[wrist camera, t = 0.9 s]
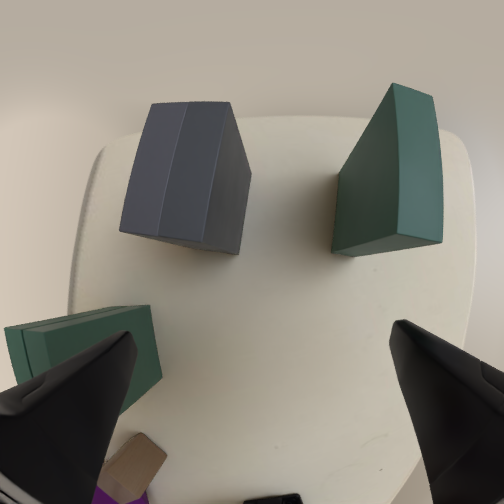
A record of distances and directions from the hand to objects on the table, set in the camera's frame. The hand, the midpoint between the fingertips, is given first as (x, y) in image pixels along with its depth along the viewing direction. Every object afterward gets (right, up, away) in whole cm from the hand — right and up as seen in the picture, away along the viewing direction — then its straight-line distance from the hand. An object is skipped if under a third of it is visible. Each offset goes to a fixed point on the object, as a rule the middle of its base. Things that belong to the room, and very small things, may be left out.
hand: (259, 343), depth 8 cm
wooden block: (-12, -19, +14) cm, 26 cm away
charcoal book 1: (-4, +7, +15) cm, 17 cm away
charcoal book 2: (-2, +6, +14) cm, 16 cm away
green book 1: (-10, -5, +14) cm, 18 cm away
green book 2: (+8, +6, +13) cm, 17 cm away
